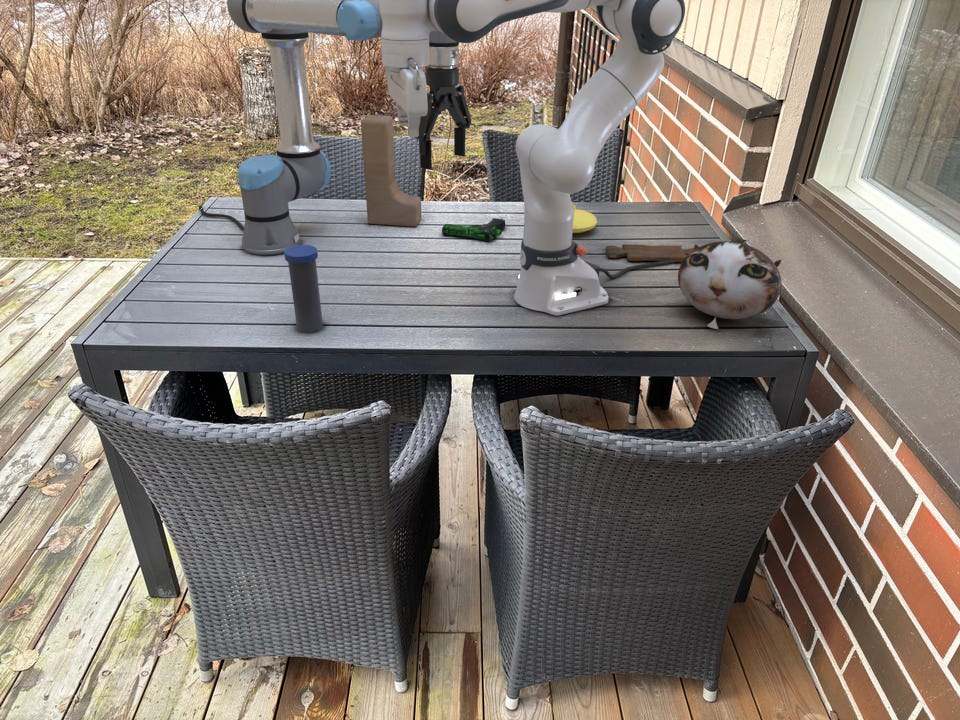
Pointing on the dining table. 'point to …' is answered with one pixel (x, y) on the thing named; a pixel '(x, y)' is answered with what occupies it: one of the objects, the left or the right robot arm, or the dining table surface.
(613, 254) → the brown notched plank
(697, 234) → the dining table surface
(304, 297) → the jar
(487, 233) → the handgun
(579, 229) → the yellow thick rounded disc
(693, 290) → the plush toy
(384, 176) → the decorative block
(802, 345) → the dining table surface
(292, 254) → the lid
